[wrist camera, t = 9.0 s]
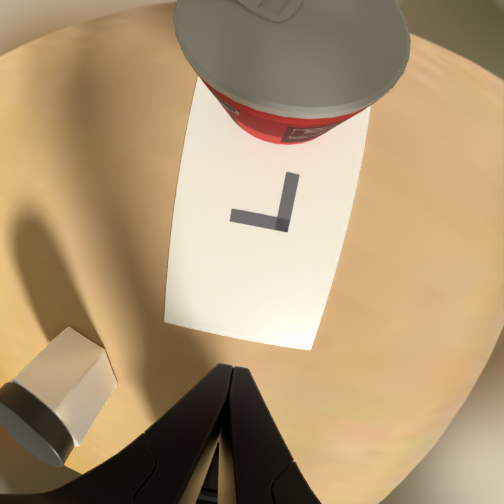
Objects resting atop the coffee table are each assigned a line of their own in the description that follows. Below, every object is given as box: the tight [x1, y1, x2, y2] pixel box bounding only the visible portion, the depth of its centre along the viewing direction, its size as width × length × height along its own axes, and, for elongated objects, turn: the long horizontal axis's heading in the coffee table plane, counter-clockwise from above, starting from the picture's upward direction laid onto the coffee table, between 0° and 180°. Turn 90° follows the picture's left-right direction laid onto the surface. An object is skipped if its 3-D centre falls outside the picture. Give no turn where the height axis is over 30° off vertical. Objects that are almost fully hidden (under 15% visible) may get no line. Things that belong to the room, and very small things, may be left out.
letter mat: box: [164, 76, 371, 350], centre depth 19 cm, size 21×12×1 cm, turn 170°
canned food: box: [174, 0, 410, 145], centre depth 11 cm, size 8×8×11 cm
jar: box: [0, 327, 118, 467], centre depth 19 cm, size 9×8×12 cm
